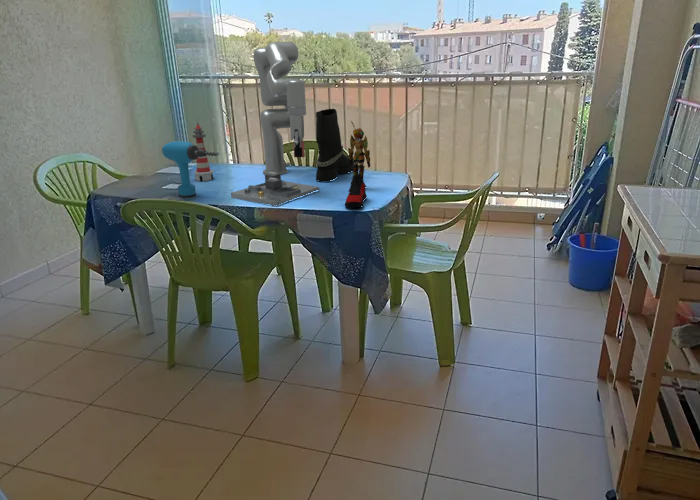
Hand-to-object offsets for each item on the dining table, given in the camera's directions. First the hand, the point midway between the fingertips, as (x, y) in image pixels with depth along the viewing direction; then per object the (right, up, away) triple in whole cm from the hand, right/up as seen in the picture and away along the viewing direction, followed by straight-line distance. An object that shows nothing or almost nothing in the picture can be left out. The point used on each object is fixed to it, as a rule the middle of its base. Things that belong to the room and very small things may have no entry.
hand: (299, 155), depth 217 cm
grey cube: (-11, -15, +4) cm, 19 cm away
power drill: (-45, -17, +5) cm, 49 cm away
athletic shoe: (+24, -22, -10) cm, 34 cm away
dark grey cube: (-13, -10, +14) cm, 22 cm away
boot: (+14, -3, +38) cm, 41 cm away
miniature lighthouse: (-50, -6, +34) cm, 61 cm away
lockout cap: (0, -1, 0) cm, 1 cm away
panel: (-11, -16, +5) cm, 20 cm away
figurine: (+26, -13, +12) cm, 31 cm away
